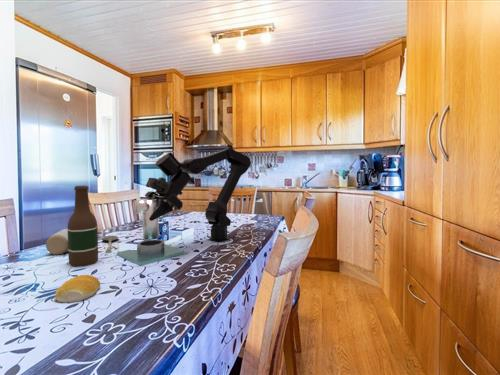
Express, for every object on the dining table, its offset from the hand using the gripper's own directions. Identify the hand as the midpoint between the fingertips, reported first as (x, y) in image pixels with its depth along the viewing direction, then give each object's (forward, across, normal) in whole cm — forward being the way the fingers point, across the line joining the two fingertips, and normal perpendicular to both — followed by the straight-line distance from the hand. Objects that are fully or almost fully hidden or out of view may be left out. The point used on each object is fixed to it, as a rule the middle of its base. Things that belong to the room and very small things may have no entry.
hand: (146, 219), depth 90 cm
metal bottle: (+5, 0, +5) cm, 7 cm away
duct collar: (+8, 0, +10) cm, 12 cm away
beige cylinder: (+22, -24, -5) cm, 33 cm away
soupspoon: (+13, -23, +5) cm, 27 cm away
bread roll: (+26, +18, -8) cm, 32 cm away
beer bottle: (+21, -6, -4) cm, 22 cm away
